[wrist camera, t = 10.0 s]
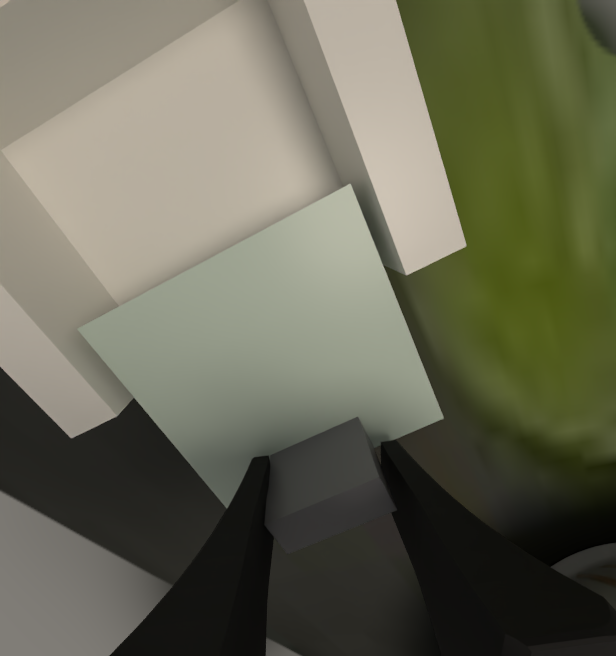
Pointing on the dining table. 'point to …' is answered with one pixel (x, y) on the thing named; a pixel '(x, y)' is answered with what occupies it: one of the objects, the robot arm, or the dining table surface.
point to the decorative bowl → (593, 570)
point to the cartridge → (280, 368)
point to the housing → (190, 158)
